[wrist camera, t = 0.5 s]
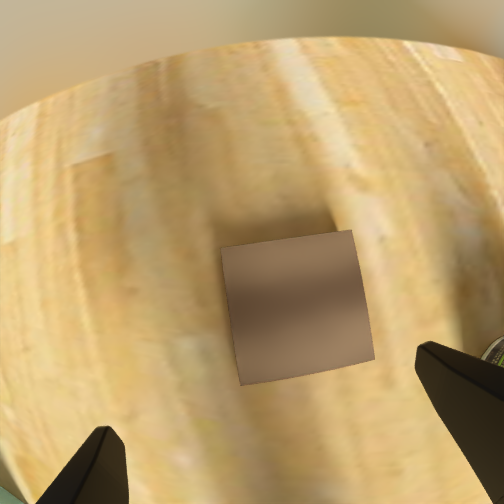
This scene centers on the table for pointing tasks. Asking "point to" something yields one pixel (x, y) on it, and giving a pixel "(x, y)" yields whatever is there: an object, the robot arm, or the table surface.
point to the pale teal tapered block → (8, 497)
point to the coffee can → (495, 353)
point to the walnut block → (296, 306)
